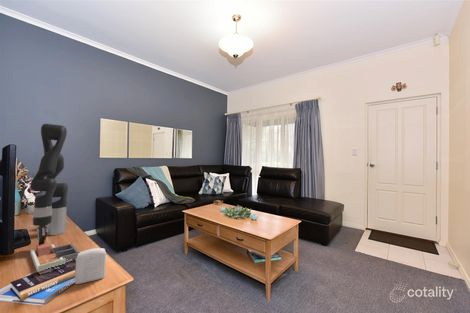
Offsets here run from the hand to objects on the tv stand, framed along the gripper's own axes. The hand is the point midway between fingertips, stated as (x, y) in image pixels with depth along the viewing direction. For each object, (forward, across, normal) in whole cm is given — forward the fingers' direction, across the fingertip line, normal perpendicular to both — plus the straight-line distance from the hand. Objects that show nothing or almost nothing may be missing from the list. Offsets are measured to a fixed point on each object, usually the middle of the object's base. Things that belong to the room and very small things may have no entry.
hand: (41, 247), depth 112 cm
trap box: (+2, -18, -4) cm, 18 cm away
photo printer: (+2, -52, -10) cm, 53 cm away
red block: (+2, -6, 0) cm, 6 cm away
